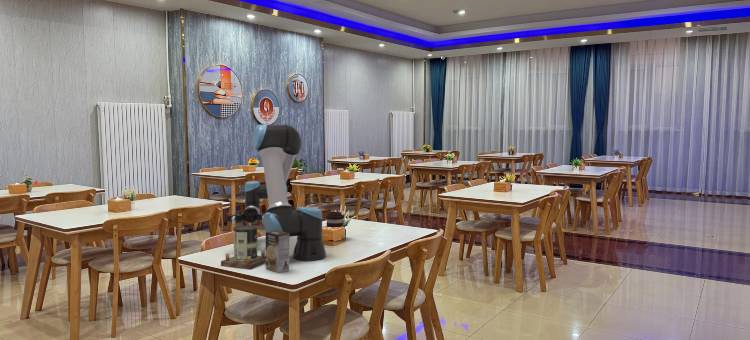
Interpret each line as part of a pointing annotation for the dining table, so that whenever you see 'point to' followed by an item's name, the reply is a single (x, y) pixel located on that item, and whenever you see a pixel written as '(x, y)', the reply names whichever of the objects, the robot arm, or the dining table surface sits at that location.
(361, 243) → the dining table surface
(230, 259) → the standoff plate
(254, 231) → the coffee can
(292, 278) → the dining table surface
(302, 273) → the dining table surface
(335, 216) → the coffee cup
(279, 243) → the coffee box
